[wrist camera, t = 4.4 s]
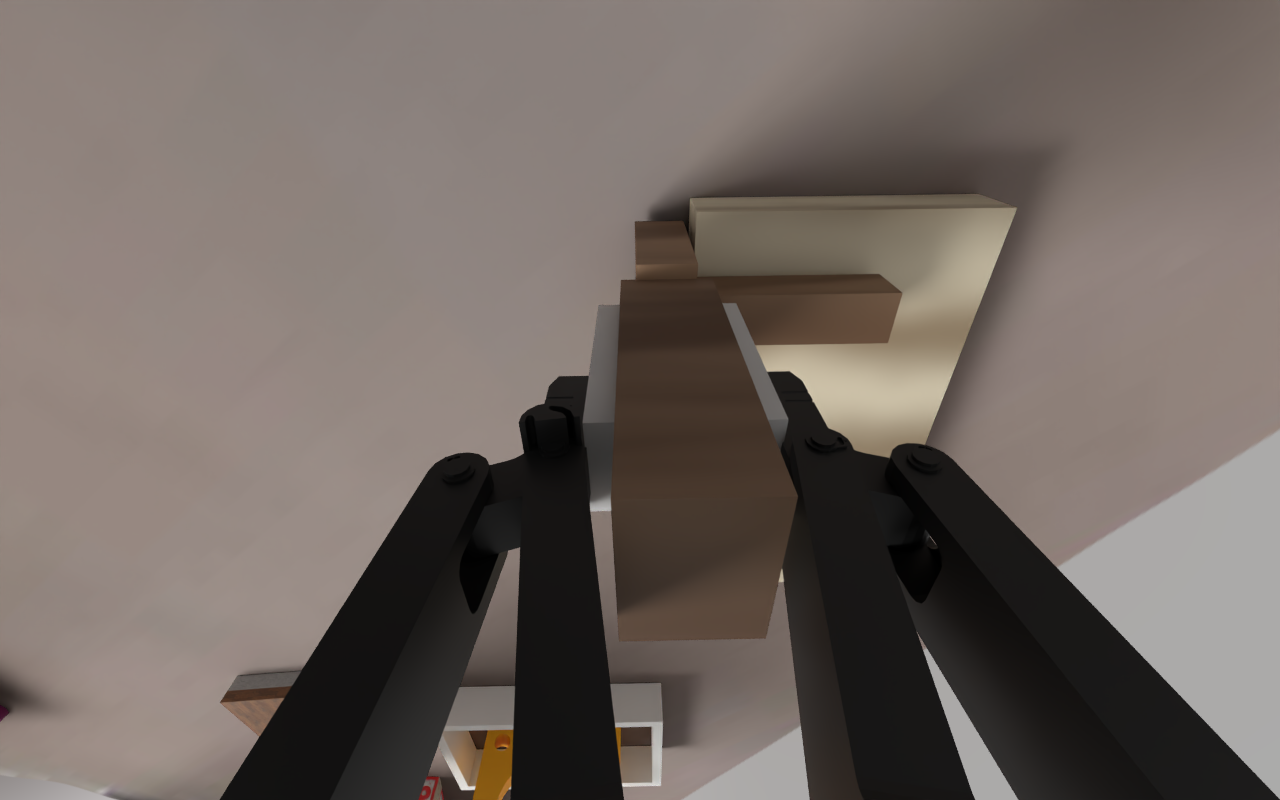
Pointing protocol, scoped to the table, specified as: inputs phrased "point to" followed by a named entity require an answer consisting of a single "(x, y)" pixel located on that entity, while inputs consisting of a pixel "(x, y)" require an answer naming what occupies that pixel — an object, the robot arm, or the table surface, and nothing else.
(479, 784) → the pipe clamp
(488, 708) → the clamp rest frame
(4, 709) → the book
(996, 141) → the table surface
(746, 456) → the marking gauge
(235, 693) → the white column with cutout
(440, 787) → the stack of blocks
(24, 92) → the table surface
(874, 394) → the pine board
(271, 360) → the table surface
